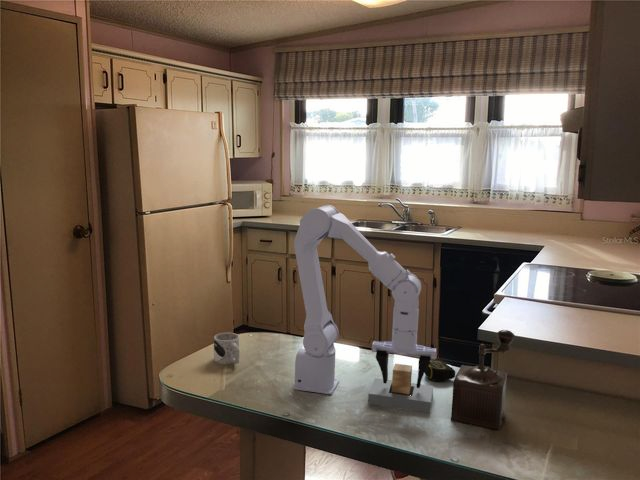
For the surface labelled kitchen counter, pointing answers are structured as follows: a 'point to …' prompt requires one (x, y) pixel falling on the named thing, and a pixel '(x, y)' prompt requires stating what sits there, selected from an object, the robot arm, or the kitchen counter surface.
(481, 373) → the manual coffee grinder
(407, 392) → the oak peg
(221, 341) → the mug
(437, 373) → the tape measure
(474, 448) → the kitchen counter surface
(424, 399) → the hole board
